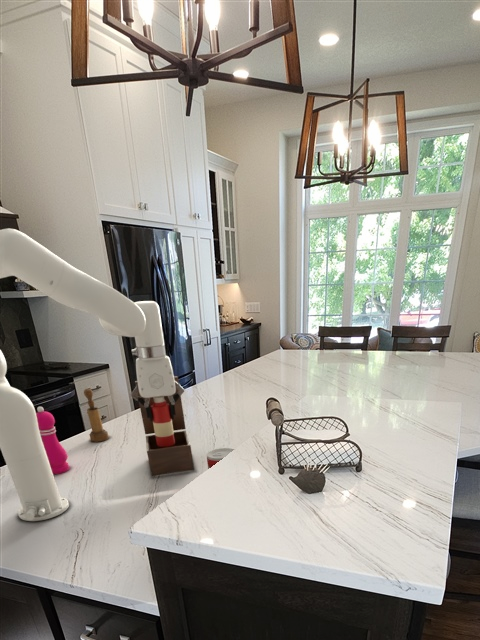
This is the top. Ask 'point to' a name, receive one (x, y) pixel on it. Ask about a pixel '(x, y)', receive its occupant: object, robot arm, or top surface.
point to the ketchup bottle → (162, 422)
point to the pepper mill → (51, 442)
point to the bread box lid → (176, 422)
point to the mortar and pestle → (95, 420)
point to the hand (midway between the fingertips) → (162, 418)
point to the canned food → (217, 455)
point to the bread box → (170, 455)
